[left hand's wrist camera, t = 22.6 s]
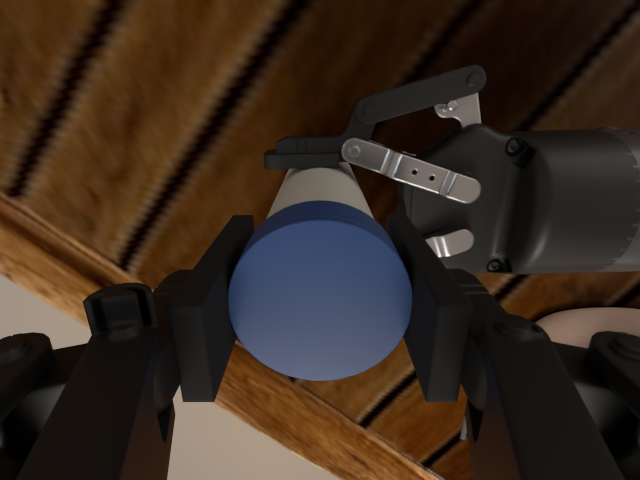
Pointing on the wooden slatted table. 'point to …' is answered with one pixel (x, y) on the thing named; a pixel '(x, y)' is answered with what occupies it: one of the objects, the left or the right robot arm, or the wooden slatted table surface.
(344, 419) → the wooden slatted table surface
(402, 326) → the lid
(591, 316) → the anatomical model
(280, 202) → the white bottle
